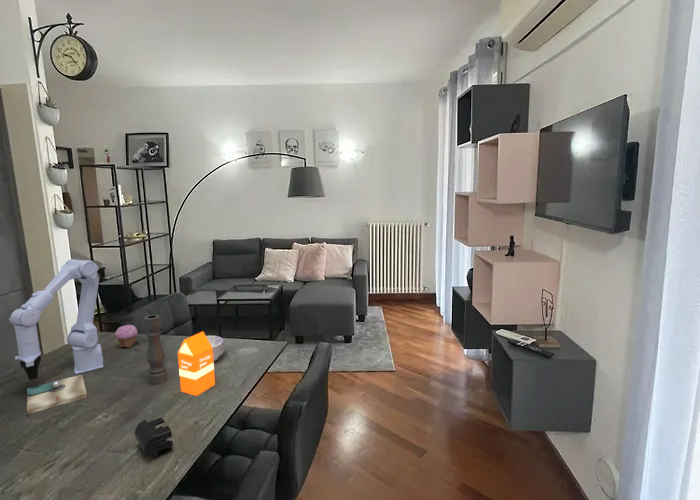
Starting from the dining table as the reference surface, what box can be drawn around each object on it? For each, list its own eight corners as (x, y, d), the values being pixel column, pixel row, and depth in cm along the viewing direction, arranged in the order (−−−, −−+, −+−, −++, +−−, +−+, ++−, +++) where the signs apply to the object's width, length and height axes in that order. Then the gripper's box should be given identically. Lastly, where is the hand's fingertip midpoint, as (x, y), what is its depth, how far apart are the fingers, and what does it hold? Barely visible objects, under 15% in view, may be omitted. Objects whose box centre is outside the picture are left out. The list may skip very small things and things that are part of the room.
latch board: (82, 378, 148) (82, 373, 148) (87, 397, 134) (86, 393, 134) (28, 392, 138) (27, 387, 138) (27, 414, 124) (26, 409, 124)
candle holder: (171, 378, 147) (165, 315, 143) (158, 386, 141) (151, 320, 137) (158, 375, 149) (152, 313, 145) (145, 383, 143) (138, 318, 139)
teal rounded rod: (60, 384, 139) (59, 379, 138) (60, 387, 137) (60, 382, 137) (27, 393, 133) (26, 388, 133) (27, 396, 131) (26, 390, 131)
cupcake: (112, 349, 174) (109, 328, 172) (126, 342, 182) (124, 321, 181) (129, 350, 172) (127, 329, 171) (143, 343, 181) (141, 322, 179)
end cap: (135, 445, 109) (133, 423, 108) (162, 434, 113) (160, 413, 112) (145, 464, 101) (143, 440, 100) (173, 451, 106) (171, 429, 105)
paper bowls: (232, 356, 165) (231, 339, 164) (201, 371, 152) (200, 352, 151) (209, 349, 173) (207, 332, 172) (178, 362, 160) (176, 344, 159)
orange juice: (215, 384, 142) (211, 332, 139) (196, 396, 134) (192, 341, 131) (199, 380, 145) (195, 329, 142) (180, 391, 137) (175, 337, 134)
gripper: (14, 338, 139) (19, 374, 141) (11, 351, 127) (17, 390, 129) (39, 334, 143) (44, 368, 145) (39, 346, 132) (44, 383, 134)
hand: (33, 378), depth 138 cm, fingers closed
